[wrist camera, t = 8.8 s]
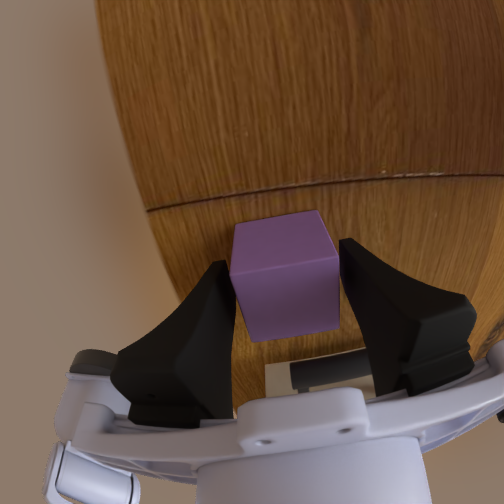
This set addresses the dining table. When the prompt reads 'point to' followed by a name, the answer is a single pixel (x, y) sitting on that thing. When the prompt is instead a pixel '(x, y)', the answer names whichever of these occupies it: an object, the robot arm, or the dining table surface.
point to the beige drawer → (321, 374)
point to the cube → (286, 276)
